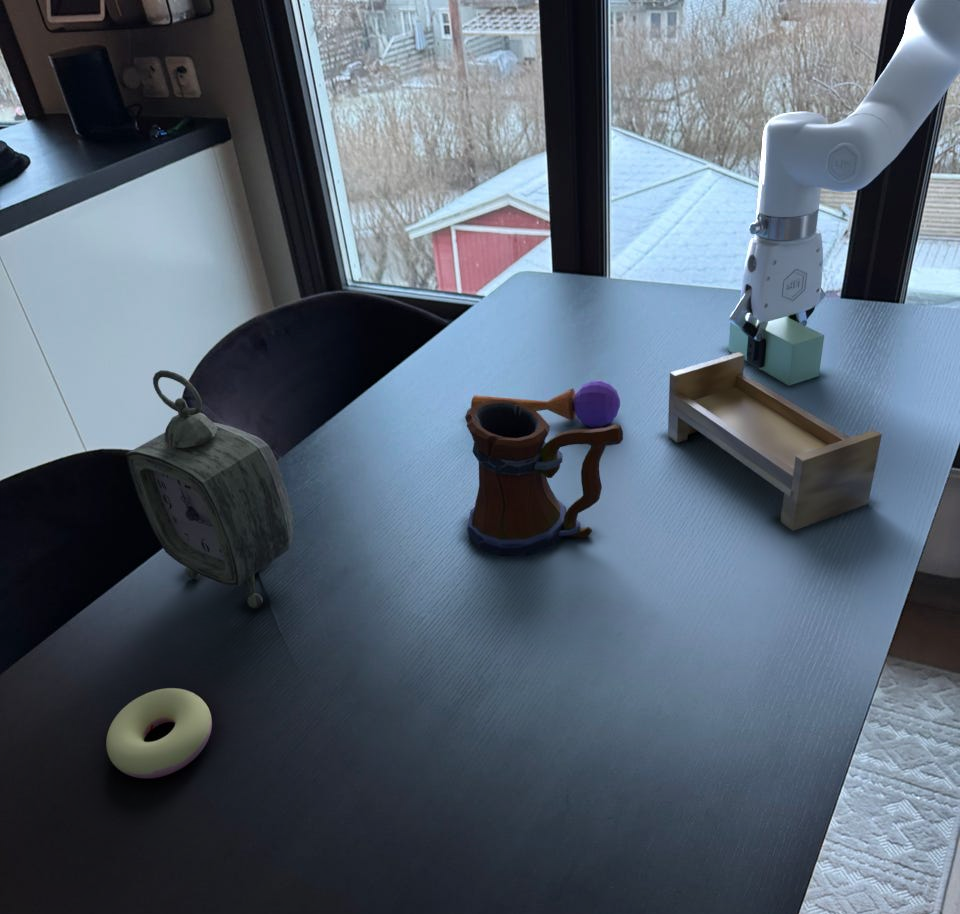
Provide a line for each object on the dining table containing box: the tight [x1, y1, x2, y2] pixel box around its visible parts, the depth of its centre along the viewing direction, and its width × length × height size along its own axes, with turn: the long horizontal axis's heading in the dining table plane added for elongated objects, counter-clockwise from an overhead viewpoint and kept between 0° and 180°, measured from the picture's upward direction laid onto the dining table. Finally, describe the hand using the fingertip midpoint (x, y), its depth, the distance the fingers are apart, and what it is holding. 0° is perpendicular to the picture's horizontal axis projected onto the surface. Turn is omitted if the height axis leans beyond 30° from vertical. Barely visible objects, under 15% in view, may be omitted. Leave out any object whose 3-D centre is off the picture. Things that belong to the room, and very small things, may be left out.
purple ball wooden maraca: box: [470, 379, 621, 428], centre depth 122 cm, size 6×6×20 cm
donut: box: [105, 687, 213, 779], centre depth 84 cm, size 10×5×9 cm
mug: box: [464, 399, 624, 557], centre depth 99 cm, size 18×12×15 cm, turn 69°
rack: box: [667, 352, 883, 532], centre depth 106 cm, size 10×25×9 cm, turn 23°
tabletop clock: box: [126, 369, 295, 609], centre depth 95 cm, size 14×9×25 cm, turn 53°
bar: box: [727, 311, 825, 386], centre depth 128 cm, size 5×14×6 cm, turn 23°
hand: (772, 357), depth 129 cm, fingers closed on bar, 5 cm apart
